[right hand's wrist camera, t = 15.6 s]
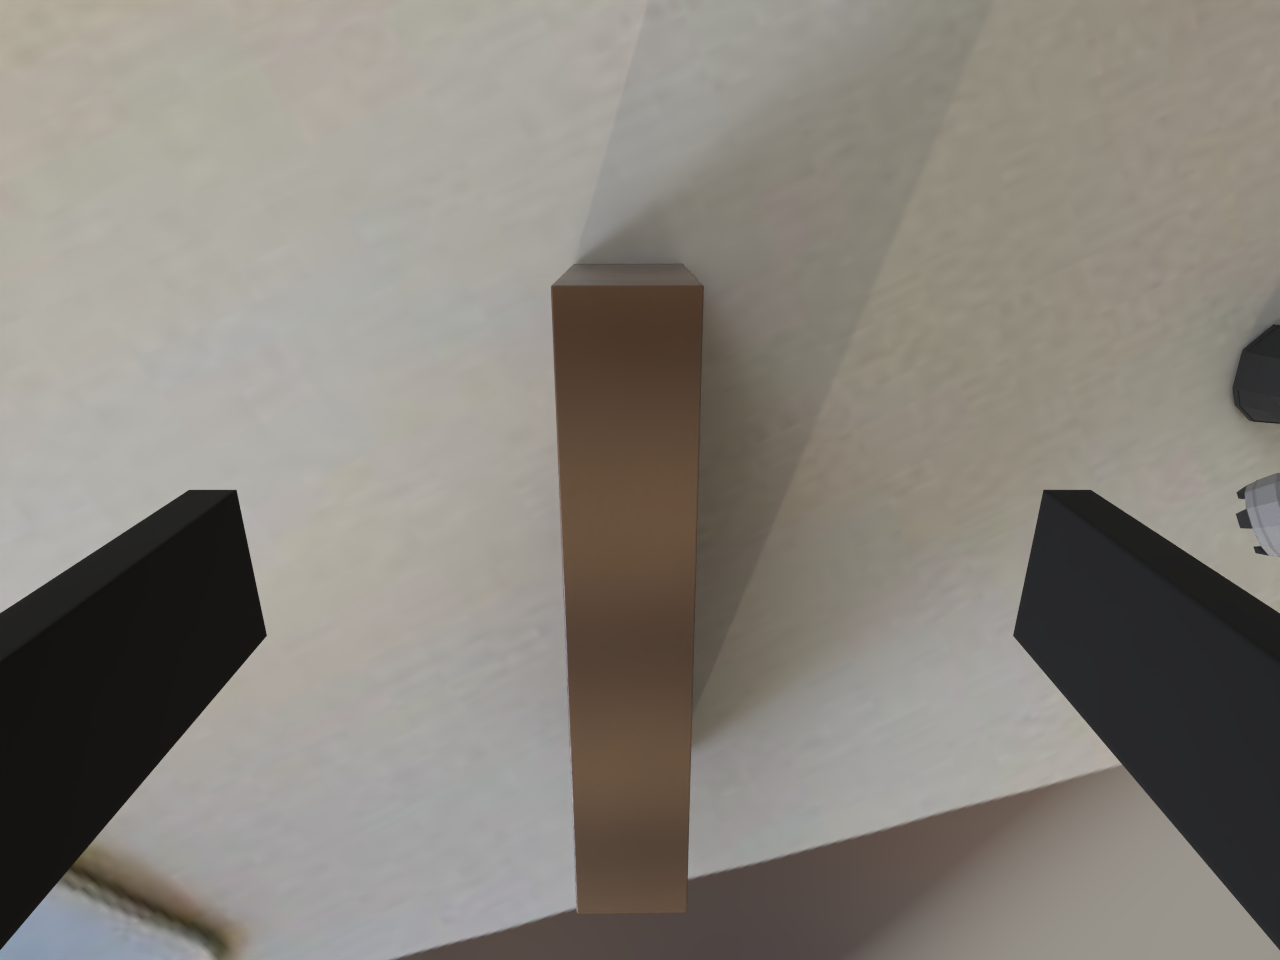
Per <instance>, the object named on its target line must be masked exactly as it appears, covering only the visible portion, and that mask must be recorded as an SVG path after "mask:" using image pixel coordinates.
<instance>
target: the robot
mask: <svg viewBox="0 0 1280 960" xmlns="http://www.w3.org/2000/svg"><path fill="white" fill-rule="evenodd" d="M1233 394H1234V401H1235V405H1236V407H1237V408H1238V409H1239V410H1240V411H1241V412H1242V413H1243V414H1244V415H1245V416H1246V417H1247V419H1248V420H1250V421H1254V422H1266V423H1279V424H1280V325H1275V324H1274V325H1273V326H1271V327H1270V328H1269V329H1268V330H1267V331H1265V332H1264V333H1263V334H1262V335H1260V336H1259V337H1258V338H1257V339H1256V340H1254V341H1253V342H1252V343H1251V344H1249V345H1248V346H1247V347H1246V348H1245V349H1243V351H1242V355H1241V359H1240V362H1239V366H1238V370H1237V374H1236V378H1235V381H1234V385H1233ZM1237 495H1238V498H1239V499H1245V502H1246V509H1245V510H1243V511H1241V512H1239V513H1237V514H1236V516H1237V519H1238V522H1239V526H1240V528H1252V529H1253V531H1254V533H1255V535H1256V537H1257V539H1258V541H1259V543H1260V545H1261V546H1257V547H1254V549H1255V552H1256V553H1258V554H1263V555H1268V556H1277V557H1280V473H1276V474H1273V475H1270V476H1268V477H1265V478H1262V479H1259V480H1257V481H1255V482H1253V483H1251V484H1249V485H1247V486H1245V487H1244V488H1242V489H1241V490H1239V491H1238V492H1237Z"/></svg>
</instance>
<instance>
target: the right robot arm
mask: <svg viewBox="0 0 1280 960" xmlns="http://www.w3.org/2000/svg"><path fill="white" fill-rule="evenodd" d="M266 636H267V635H266V630H265V625H264V620H263V615H262V611H261V606H260V601H259V596H258V591H257V587H256V582H255V577H254V572H253V567H252V563H251V558H250V553H249V548H248V543H247V539H246V534H245V529H244V524H243V519H242V515H241V510H240V505H239V500H238V496H237V491H236V490H188V491H187V492H185V493H184V494H182V495H181V496H179V497H178V498H176V499H175V500H173V501H172V502H170V503H169V504H167V505H165V506H164V507H162V508H161V509H159V510H158V511H156V512H155V513H153V514H152V515H150V516H149V517H147V518H146V519H144V520H143V521H141V522H139V523H138V524H136V525H135V526H133V527H132V528H130V529H129V530H127V531H126V532H124V533H123V534H121V535H120V536H118V537H117V538H115V539H113V540H112V541H110V542H109V543H107V544H106V545H104V546H103V547H101V548H100V549H98V550H97V551H95V552H94V553H92V554H90V555H89V556H87V557H86V558H84V559H83V560H81V561H80V562H78V563H77V564H75V565H74V566H72V567H71V568H69V569H68V570H66V571H64V572H63V573H61V574H60V575H58V576H57V577H55V578H54V579H52V580H51V581H49V582H48V583H46V584H45V585H43V586H42V587H40V588H38V589H37V590H35V591H34V592H32V593H31V594H29V595H28V596H26V597H25V598H23V599H22V600H20V601H19V602H17V603H15V604H14V605H12V606H11V607H9V608H8V609H6V610H5V611H3V612H2V613H0V950H1V949H2V947H3V946H4V945H5V944H6V943H7V941H8V940H9V939H10V938H11V937H12V936H13V934H14V933H15V932H16V931H17V930H18V928H19V927H20V926H21V925H22V924H23V923H24V921H25V920H26V919H27V918H28V917H29V916H30V914H31V913H32V912H33V911H34V910H35V908H36V907H37V906H38V905H39V904H40V903H41V901H42V900H43V899H44V898H45V897H46V895H47V894H48V893H49V892H50V891H51V890H52V888H53V887H54V886H55V885H56V884H57V882H58V881H59V880H60V879H61V878H62V877H63V875H64V874H65V873H66V872H67V871H68V870H69V868H70V867H71V866H72V865H73V864H74V862H75V861H76V860H77V859H78V858H79V857H80V855H81V854H82V853H83V852H84V851H85V849H86V848H87V847H88V846H89V845H90V844H91V842H92V841H93V840H94V839H95V838H96V836H97V835H98V834H99V833H100V832H101V831H102V829H103V828H104V827H105V826H106V825H107V824H108V822H109V821H110V820H111V819H112V818H113V816H114V815H115V814H116V813H117V812H118V811H119V809H120V808H121V807H122V806H123V805H124V803H125V802H126V801H127V800H128V799H129V798H130V796H131V795H132V794H133V793H134V792H135V790H136V789H137V788H138V787H139V786H140V785H141V783H142V782H143V781H144V780H145V779H146V778H147V776H148V775H149V774H150V773H151V772H152V770H153V769H154V768H155V767H156V766H157V765H158V763H159V762H160V761H161V760H162V759H163V757H164V756H165V755H166V754H167V753H168V752H169V750H170V749H171V748H172V747H173V746H174V744H175V743H176V742H177V741H178V740H179V739H180V737H181V736H182V735H183V734H184V733H185V732H186V730H187V729H188V728H189V727H190V726H191V724H192V723H193V722H194V721H195V720H196V719H197V717H198V716H199V715H200V714H201V713H202V711H203V710H204V709H205V708H206V707H207V706H208V704H209V703H210V702H211V701H212V700H213V698H214V697H215V696H216V695H217V694H218V693H219V691H220V690H221V689H222V688H223V687H224V686H225V684H226V683H227V682H228V681H229V680H230V678H231V677H232V676H233V675H234V674H235V673H236V671H237V670H238V669H239V668H240V667H241V665H242V664H243V663H244V662H245V661H246V660H247V658H248V657H249V656H250V655H251V654H252V652H253V651H254V650H255V649H256V648H257V647H258V645H259V644H260V643H261V642H262V641H263V640H264V638H265V637H266ZM1013 636H1014V637H1015V638H1016V640H1017V641H1018V642H1019V643H1020V644H1021V645H1022V647H1023V648H1024V649H1025V650H1026V651H1027V652H1028V654H1029V655H1030V656H1031V657H1032V658H1033V660H1034V661H1035V662H1036V663H1037V664H1038V665H1039V667H1040V668H1041V669H1042V670H1043V671H1044V673H1045V674H1046V675H1047V676H1048V677H1049V678H1050V680H1051V681H1052V682H1053V683H1054V684H1055V686H1056V687H1057V688H1058V689H1059V690H1060V691H1061V693H1062V694H1063V695H1064V696H1065V697H1066V698H1067V700H1068V701H1069V702H1070V703H1071V704H1072V706H1073V707H1074V708H1075V709H1076V710H1077V711H1078V713H1079V714H1080V715H1081V716H1082V717H1083V719H1084V720H1085V721H1086V722H1087V723H1088V724H1089V726H1090V727H1091V728H1092V729H1093V730H1094V732H1095V733H1096V734H1097V735H1098V736H1099V737H1100V739H1101V740H1102V741H1103V742H1104V743H1105V744H1106V746H1107V747H1108V748H1109V749H1110V750H1111V752H1112V753H1113V754H1114V755H1115V756H1116V757H1117V759H1118V760H1119V761H1120V762H1121V763H1122V765H1123V766H1124V767H1125V768H1126V769H1127V770H1128V772H1129V773H1130V774H1131V775H1132V776H1133V778H1134V779H1135V780H1136V781H1137V782H1138V783H1139V785H1140V786H1141V787H1142V788H1143V789H1144V790H1145V792H1146V793H1147V794H1148V795H1149V796H1150V798H1151V799H1152V800H1153V801H1154V802H1155V803H1156V805H1157V806H1158V807H1159V808H1160V809H1161V810H1162V812H1163V813H1164V814H1165V815H1166V816H1167V818H1168V819H1169V820H1170V821H1171V822H1172V823H1173V825H1174V826H1175V827H1176V828H1177V829H1178V831H1179V832H1180V833H1181V834H1182V835H1183V836H1184V838H1185V839H1186V840H1187V841H1188V842H1189V844H1190V845H1191V846H1192V847H1193V848H1194V849H1195V851H1196V852H1197V853H1198V854H1199V855H1200V857H1201V858H1202V859H1203V860H1204V861H1205V862H1206V864H1207V865H1208V866H1209V867H1210V868H1211V870H1212V871H1213V872H1214V873H1215V874H1216V875H1217V877H1218V878H1219V879H1220V880H1221V881H1222V882H1223V884H1224V885H1225V886H1226V887H1227V888H1228V890H1229V891H1230V892H1231V893H1232V894H1233V895H1234V897H1235V898H1236V899H1237V900H1238V901H1239V903H1240V904H1241V905H1242V906H1243V907H1244V908H1245V910H1246V911H1247V912H1248V913H1249V914H1250V916H1251V917H1252V918H1253V919H1254V920H1255V921H1256V923H1257V924H1258V925H1259V926H1260V927H1261V928H1262V930H1263V931H1264V932H1265V933H1266V934H1267V936H1268V937H1269V938H1270V939H1271V940H1272V941H1273V943H1274V944H1275V945H1276V946H1277V947H1278V949H1279V950H1280V613H1278V612H1277V611H1275V610H1274V609H1272V608H1271V607H1269V606H1268V605H1266V604H1265V603H1263V602H1261V601H1260V600H1258V599H1257V598H1255V597H1254V596H1252V595H1251V594H1249V593H1248V592H1246V591H1245V590H1243V589H1242V588H1240V587H1238V586H1237V585H1235V584H1234V583H1232V582H1231V581H1229V580H1228V579H1226V578H1225V577H1223V576H1222V575H1220V574H1219V573H1217V572H1216V571H1214V570H1212V569H1211V568H1209V567H1208V566H1206V565H1205V564H1203V563H1202V562H1200V561H1199V560H1197V559H1196V558H1194V557H1193V556H1191V555H1190V554H1188V553H1186V552H1185V551H1183V550H1182V549H1180V548H1179V547H1177V546H1176V545H1174V544H1173V543H1171V542H1170V541H1168V540H1167V539H1165V538H1163V537H1162V536H1160V535H1159V534H1157V533H1156V532H1154V531H1153V530H1151V529H1150V528H1148V527H1147V526H1145V525H1144V524H1142V523H1141V522H1139V521H1137V520H1136V519H1134V518H1133V517H1131V516H1130V515H1128V514H1127V513H1125V512H1124V511H1122V510H1121V509H1119V508H1118V507H1116V506H1115V505H1113V504H1111V503H1110V502H1108V501H1107V500H1105V499H1104V498H1102V497H1101V496H1099V495H1098V494H1096V493H1095V492H1093V491H1092V490H1044V491H1043V496H1042V500H1041V505H1040V510H1039V515H1038V519H1037V524H1036V529H1035V534H1034V539H1033V543H1032V548H1031V553H1030V558H1029V563H1028V567H1027V572H1026V577H1025V582H1024V587H1023V591H1022V596H1021V601H1020V606H1019V611H1018V615H1017V620H1016V625H1015V630H1014V635H1013Z"/></svg>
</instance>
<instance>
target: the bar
mask: <svg viewBox="0 0 1280 960" xmlns="http://www.w3.org/2000/svg"><path fill="white" fill-rule="evenodd" d="M703 292H704V287H703V285H702V284H701V283H700V282H699V281H698V279H697V278H696V277H695V276H694V275H693V274H692V273H691V272H690V271H689V270H688V269H687V268H686V267H685V266H684V264H574V265H573V266H571V267H570V268H569V269H568V270H567V271H566V272H565V273H564V274H563V275H562V276H561V277H560V278H559V279H558V280H557V281H556V282H555V283H554V284H553V285H552V286H551V299H552V324H553V348H554V372H555V396H556V421H557V445H558V469H559V493H560V518H561V542H562V566H563V591H564V615H565V639H566V663H567V688H568V712H569V736H570V760H571V785H572V809H573V833H574V858H575V882H576V906H577V913H578V914H580V913H581V914H582V913H674V912H686V911H687V880H688V843H689V806H690V769H691V733H692V696H693V659H694V622H695V586H696V549H697V512H698V475H699V439H700V402H701V365H702V328H703Z"/></svg>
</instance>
